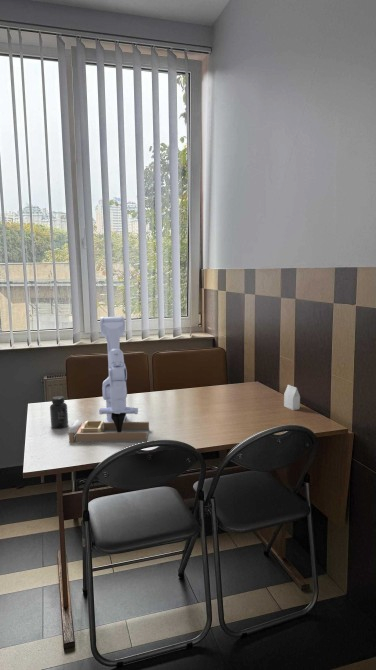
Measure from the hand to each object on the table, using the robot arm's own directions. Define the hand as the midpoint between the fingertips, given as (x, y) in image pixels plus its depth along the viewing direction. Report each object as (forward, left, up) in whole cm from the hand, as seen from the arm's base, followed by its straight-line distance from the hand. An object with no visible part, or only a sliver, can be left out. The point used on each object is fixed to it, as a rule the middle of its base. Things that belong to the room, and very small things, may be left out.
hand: (119, 431), depth 184 cm
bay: (0, -4, -2) cm, 4 cm away
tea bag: (-34, +74, -2) cm, 81 cm away
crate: (0, -10, -2) cm, 10 cm away
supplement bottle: (-12, -26, -2) cm, 29 cm away
